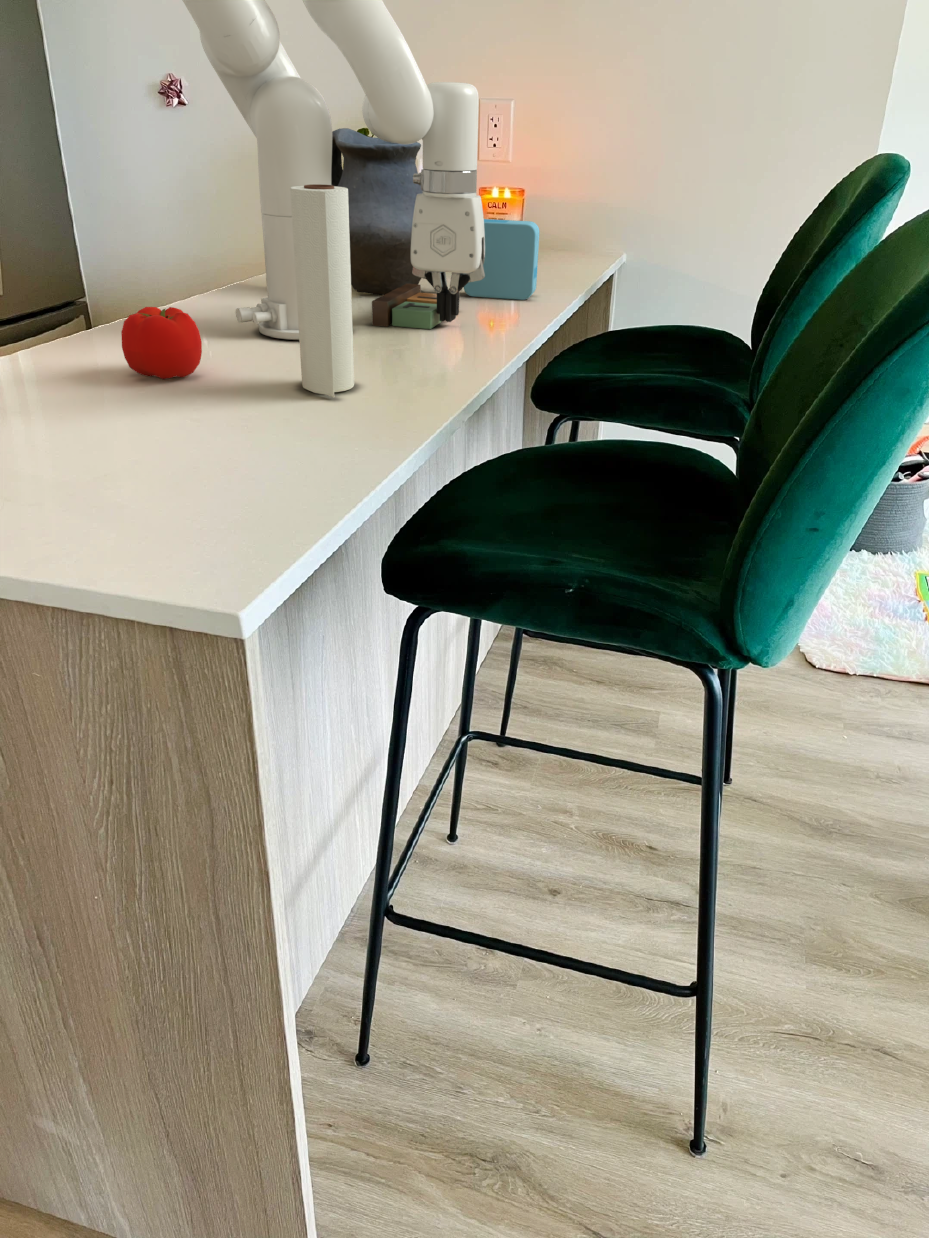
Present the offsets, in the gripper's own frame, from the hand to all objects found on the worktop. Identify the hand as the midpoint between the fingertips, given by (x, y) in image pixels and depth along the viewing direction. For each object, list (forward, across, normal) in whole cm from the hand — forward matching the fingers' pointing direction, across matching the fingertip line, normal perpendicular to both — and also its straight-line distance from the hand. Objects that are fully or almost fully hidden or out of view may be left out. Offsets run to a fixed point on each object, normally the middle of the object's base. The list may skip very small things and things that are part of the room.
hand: (447, 319), depth 140 cm
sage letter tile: (+1, -5, 0) cm, 5 cm away
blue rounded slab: (+1, +1, +27) cm, 27 cm away
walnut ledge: (+1, -9, +4) cm, 10 cm away
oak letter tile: (+1, -5, +8) cm, 10 cm away
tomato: (+1, -23, -39) cm, 45 cm away
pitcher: (+1, -20, +24) cm, 31 cm away
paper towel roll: (+1, -3, -38) cm, 38 cm away
